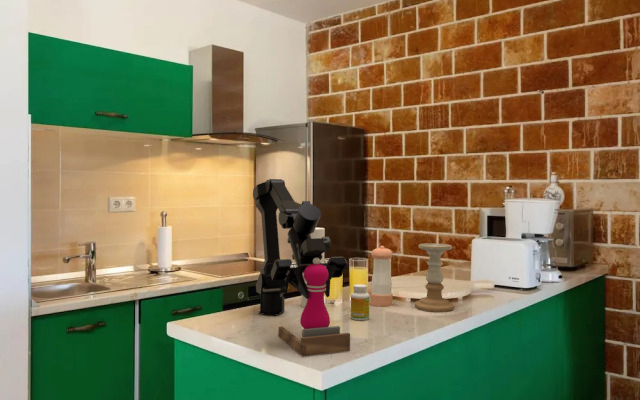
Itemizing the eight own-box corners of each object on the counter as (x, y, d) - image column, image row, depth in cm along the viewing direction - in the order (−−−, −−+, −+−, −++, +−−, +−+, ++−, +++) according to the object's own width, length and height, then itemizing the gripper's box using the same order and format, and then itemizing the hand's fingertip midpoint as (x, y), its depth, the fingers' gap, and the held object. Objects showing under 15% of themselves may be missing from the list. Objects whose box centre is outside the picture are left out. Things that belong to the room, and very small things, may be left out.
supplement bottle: (367, 321, 157) (368, 287, 156) (349, 320, 158) (349, 286, 157) (370, 316, 162) (370, 284, 162) (352, 315, 163) (352, 283, 163)
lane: (278, 336, 140) (278, 320, 140) (321, 331, 145) (321, 316, 145) (302, 356, 124) (302, 338, 124) (349, 350, 129) (350, 333, 128)
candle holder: (451, 313, 167) (452, 248, 166) (411, 310, 171) (412, 246, 171) (456, 305, 178) (457, 244, 178) (418, 302, 183) (419, 242, 182)
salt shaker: (366, 304, 178) (367, 246, 178) (376, 300, 184) (376, 244, 184) (386, 307, 174) (387, 247, 174) (396, 303, 181) (396, 245, 180)
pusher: (302, 350, 128) (302, 329, 128) (338, 346, 132) (338, 325, 131) (303, 351, 127) (303, 330, 127) (339, 347, 131) (339, 326, 130)
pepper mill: (299, 334, 136) (300, 254, 135) (328, 334, 137) (330, 255, 136) (300, 343, 129) (302, 260, 128) (330, 343, 130) (333, 260, 128)
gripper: (274, 226, 132) (289, 279, 122) (344, 225, 139) (364, 275, 129) (265, 254, 139) (278, 307, 130) (332, 252, 146) (349, 301, 137)
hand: (318, 297), depth 131 cm, fingers closed on pepper mill, 5 cm apart
